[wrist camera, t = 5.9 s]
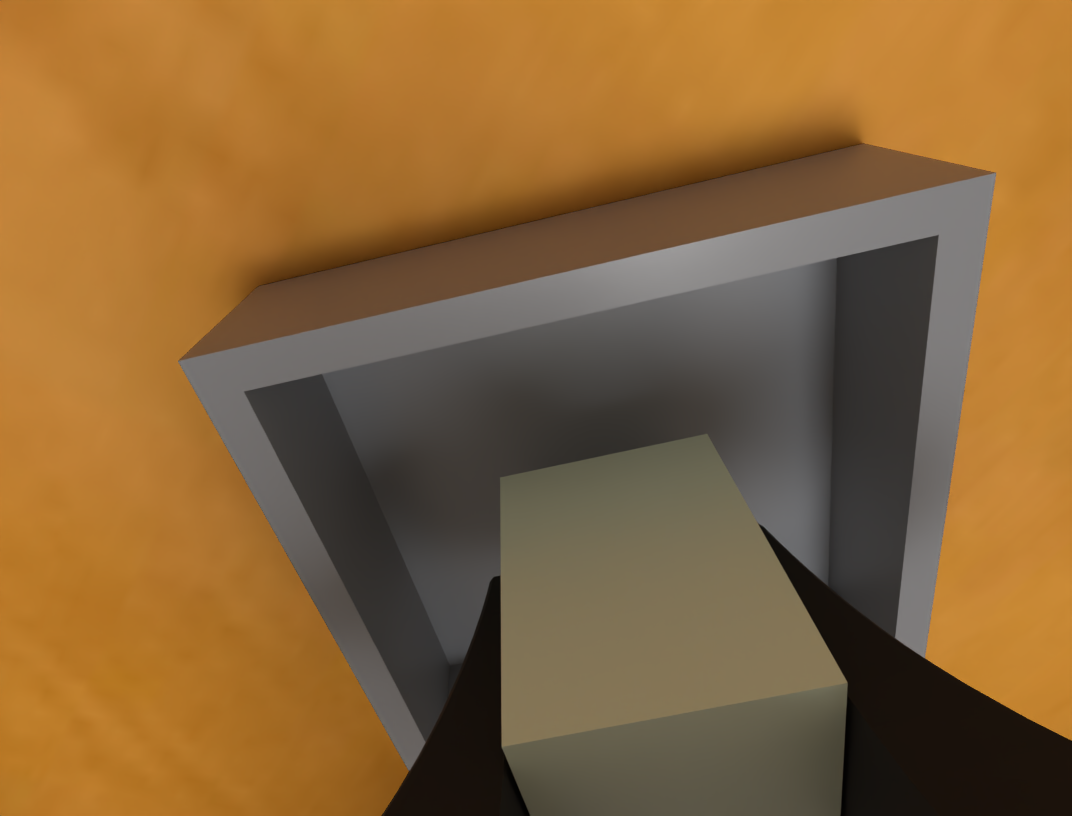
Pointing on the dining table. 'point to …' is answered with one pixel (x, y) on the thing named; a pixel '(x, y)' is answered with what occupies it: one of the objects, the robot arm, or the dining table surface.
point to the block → (659, 647)
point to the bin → (612, 392)
